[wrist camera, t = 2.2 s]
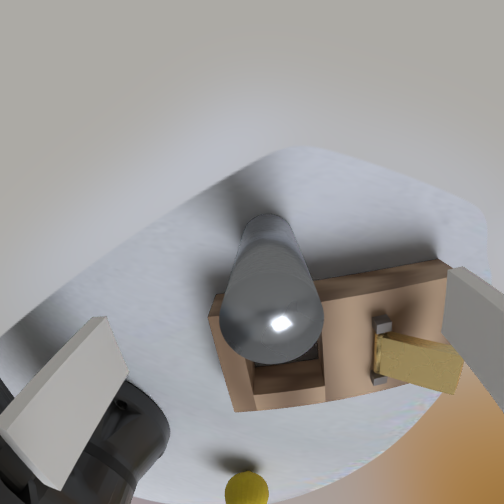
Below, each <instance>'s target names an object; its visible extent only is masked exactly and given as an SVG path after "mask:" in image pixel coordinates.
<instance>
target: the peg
mask: <svg viewBox="0 0 504 504" xmlns="http://www.w3.org/2000/svg"><path fill="white" fill-rule="evenodd" d="M323 324H324V311H323V307H322V304H321V301H320V298H319V296H318V293H317V290H316V288H315V285H314V283H313V280H312V278H311V275H310V273H309V270H308V268H307V265H306V263H305V260H304V258H303V255H302V253H301V250H300V248H299V245H298V243H297V240H296V238H295V236H294V233H293V231H292V228H291V227H290V225H289V224H288V222H287V221H286V220H284V219H283V218H281V217H279V216H277V215H273V214H263V215H259V216H257V217H255V218H254V219H252V220H251V221H250V222H249V223H248V224H247V226H246V227H245V229H244V232H243V236H242V239H241V242H240V245H239V249H238V252H237V255H236V259H235V262H234V265H233V269H232V272H231V275H230V278H229V282H228V285H227V288H226V292H225V295H224V299H223V302H222V305H221V309H220V314H219V325H220V330H221V333H222V335H223V337H224V339H225V341H226V342H227V344H228V345H229V346H230V347H231V348H232V349H233V350H234V351H235V352H236V353H237V354H239V355H240V356H242V357H244V358H246V359H248V360H251V361H254V362H257V363H263V364H279V363H284V362H288V361H291V360H293V359H296V358H298V357H300V356H301V355H303V354H304V353H306V352H307V351H308V350H309V349H310V348H311V347H312V346H313V345H314V344H315V343H316V341H317V340H318V338H319V336H320V334H321V332H322V328H323Z"/></svg>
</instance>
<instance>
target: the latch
mask: <svg viewBox="0 0 504 504" xmlns="http://www.w3.org/2000/svg"><path fill="white" fill-rule="evenodd" d="M463 364H464V360H463V358H462V357H461V356H460V355H459V353H458V352H457V351H456V350H455V349H454V347H453V346H452V345H448V344H443V343H439V342H434V341H430V340H425V339H421V338H416V337H412V336H408V335H404V334H399V333H395V332H391V331H390V332H385V333H381V334H376V332H375V347H374V365H373V371H374V372H375V373H380V374H381V375H384V376H388V377H391V378H394V379H397V380H401V381H404V382H407V383H411V384H414V385H418V386H421V387H425V388H429V389H432V390H436V391H440V392H444V393H448V394H451V395H454V393H455V391H456V388H457V386H458V382H459V379H460V375H461V372H462V367H463Z"/></svg>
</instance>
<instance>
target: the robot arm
mask: <svg viewBox="0 0 504 504" xmlns="http://www.w3.org/2000/svg"><path fill="white" fill-rule="evenodd" d="M441 333H442V334H443V335H444V337H445V338H446V339H447V340H448V341H449V343H450V344H451V345H452V346H453V347H454V349H455V350H456V351H457V352H458V353H459V355H460V356H461V357H462V358H463V360H464V361H465V362H466V363H467V365H468V366H469V367H470V368H471V370H472V371H473V372H474V373H475V375H476V376H477V377H478V379H479V380H480V381H481V383H482V384H483V385H484V387H485V388H486V389H487V391H488V392H489V393H490V395H491V396H492V397H493V399H494V400H495V401H496V403H497V404H498V406H499V407H500V408H501V410H502V411H503V413H504V294H503V293H501V292H499V291H498V290H497V289H495V288H494V287H493V286H491V285H490V284H488V283H487V282H485V281H484V280H483V279H481V278H480V277H478V276H477V275H475V274H474V273H472V272H471V271H469V270H468V269H466V268H465V267H458V268H453V269H449V270H448V272H447V286H446V297H445V306H444V315H443V322H442V329H441ZM128 373H129V370H128V367H127V365H126V363H125V361H124V358H123V356H122V354H121V351H120V349H119V347H118V344H117V342H116V339H115V337H114V334H113V332H112V329H111V327H110V324H109V321H108V319H107V316H105V317H92V318H91V319H90V320H89V321H88V322H87V323H86V324H85V325H84V326H83V327H82V328H81V329H80V330H79V331H78V332H77V333H76V334H75V335H74V336H73V337H72V338H71V339H70V340H69V341H68V342H67V343H66V344H65V345H64V346H63V347H62V348H61V349H60V350H59V351H58V352H57V353H56V354H55V355H54V356H53V357H52V358H51V359H50V360H49V361H48V363H47V364H46V365H45V366H44V367H43V368H42V369H41V370H40V371H39V372H38V373H37V374H36V375H35V376H34V377H33V379H32V380H31V381H30V382H29V383H28V384H27V385H26V386H25V387H24V388H23V390H22V391H21V392H20V393H19V394H18V395H17V396H16V397H15V398H14V396H13V395H12V394H11V392H10V391H9V390H8V388H7V387H6V386H5V384H4V383H3V381H2V380H1V378H0V504H130V503H131V500H132V497H133V494H134V491H135V489H136V486H137V483H138V481H139V480H140V479H141V478H142V477H143V475H144V474H145V473H146V472H147V471H148V470H149V469H150V468H151V466H152V465H153V464H154V463H155V462H156V460H157V459H158V458H160V457H161V456H162V455H163V453H164V451H165V449H166V446H167V443H168V440H169V437H170V428H169V424H168V422H167V420H166V418H165V416H164V414H163V413H162V411H161V410H160V409H159V408H158V406H157V405H156V404H155V403H154V402H153V401H152V400H151V399H150V398H149V397H147V396H146V395H145V394H144V393H142V392H141V391H140V390H138V389H137V388H136V387H134V386H133V385H131V384H129V383H128V382H126V381H124V380H125V378H126V377H127V375H128Z"/></svg>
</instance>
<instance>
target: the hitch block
mask: <svg viewBox="0 0 504 504" xmlns="http://www.w3.org/2000/svg"><path fill="white" fill-rule="evenodd" d="M449 269H453V268H452V267H450V266H449V265H447V264H446V263H444V262H442V261H441V260H439V259H435V260H430V261H424V262H419V263H414V264H409V265H403V266H398V267H392V268H387V269H381V270H376V271H370V272H364V273H358V274H352V275H346V276H340V277H334V278H328V279H322V280H315V281H313V283H314V285H315V288H316V290H317V293H318V296H319V298H320V301H321V304H322V307H323V311H324V324H323V328H322V332H321V334H320V336H319V338H318V340H317V344H318V358H319V359H314V360H307V361H301V362H294V363H286V364H278V365H270V366H261V367H255V364H254V361H251V360H248V359H246V358H244V357H242V356H240V355H239V354H237V353H236V352H235V351H234V350H233V349H232V348H231V347H230V346H229V345H228V344H227V342H226V341H225V339H224V337H223V335H222V333H221V330H220V325H219V314H220V309H221V305H222V302H223V299H224V295H225V293H223V294H216V296H215V299H214V301H213V304H212V307H211V310H210V312H209V315H208V320H209V324H210V328H211V331H212V335H213V339H214V343H215V346H216V350H217V354H218V357H219V361H220V364H221V368H222V371H223V375H224V378H225V382H226V385H227V388H228V392H229V395H230V398H231V402H232V405H233V408H234V411H235V412H247V411H259V410H270V409H279V408H288V407H296V406H303V405H310V404H317V403H323V402H329V401H334V400H340V399H345V398H350V397H355V396H360V395H364V394H369V393H373V392H377V391H382V390H386V389H390V388H393V387H397V386H401V385H405V384H408V383H407V382H404V381H401V380H397V379H394V378H391V377H388V376H384V375H381V374H380V373H375V372H374V371H373V365H374V347H375V332H376V334H381V333H385V332H390V331H391V332H395V333H399V334H404V335H408V336H412V337H416V338H421V339H425V340H430V341H434V342H439V343H443V344H448V345H451V344H450V343H449V341H448V340H447V339H446V338H445V337H444V335H443V334H442V333H441V329H442V322H443V315H444V306H445V297H446V286H447V272H448V270H449Z"/></svg>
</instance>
